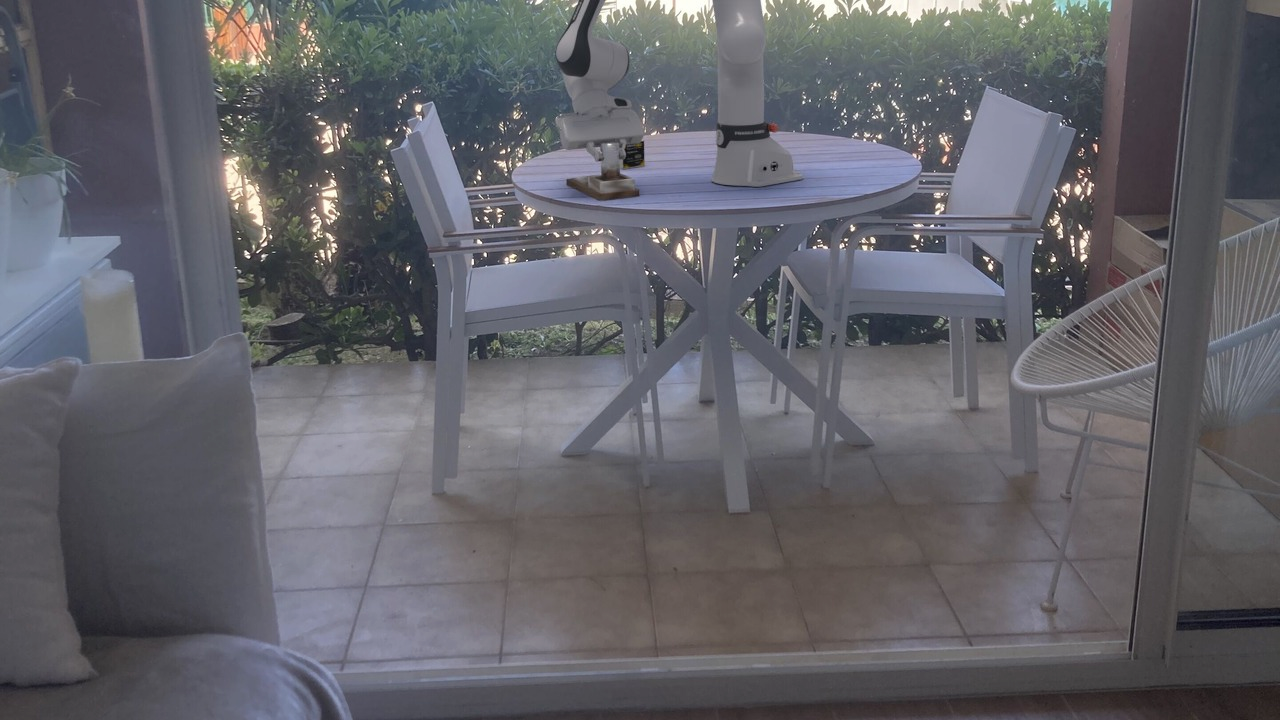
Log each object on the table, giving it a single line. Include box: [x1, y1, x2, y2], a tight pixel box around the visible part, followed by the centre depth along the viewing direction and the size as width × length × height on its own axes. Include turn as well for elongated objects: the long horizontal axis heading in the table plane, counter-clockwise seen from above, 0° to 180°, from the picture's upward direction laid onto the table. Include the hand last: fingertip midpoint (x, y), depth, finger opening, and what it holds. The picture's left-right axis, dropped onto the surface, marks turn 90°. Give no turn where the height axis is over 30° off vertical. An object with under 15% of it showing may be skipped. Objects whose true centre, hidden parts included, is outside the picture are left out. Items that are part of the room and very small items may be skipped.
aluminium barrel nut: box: [599, 141, 621, 179], centre depth 265 cm, size 4×4×8 cm
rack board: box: [565, 172, 641, 201], centre depth 273 cm, size 10×22×4 cm, turn 24°
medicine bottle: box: [619, 138, 646, 170], centre depth 301 cm, size 7×7×12 cm
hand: (611, 158), depth 265 cm, fingers closed on aluminium barrel nut, 4 cm apart
